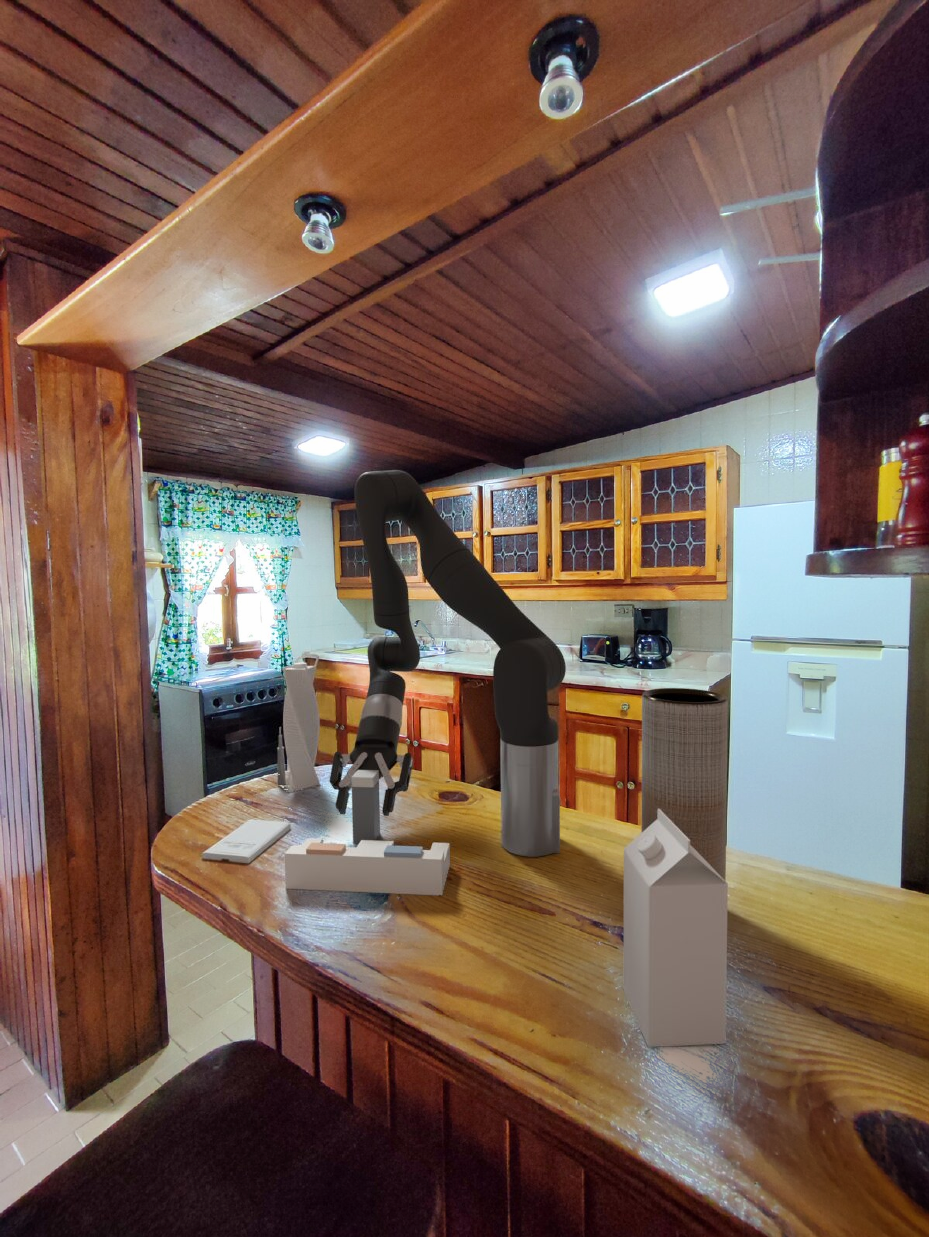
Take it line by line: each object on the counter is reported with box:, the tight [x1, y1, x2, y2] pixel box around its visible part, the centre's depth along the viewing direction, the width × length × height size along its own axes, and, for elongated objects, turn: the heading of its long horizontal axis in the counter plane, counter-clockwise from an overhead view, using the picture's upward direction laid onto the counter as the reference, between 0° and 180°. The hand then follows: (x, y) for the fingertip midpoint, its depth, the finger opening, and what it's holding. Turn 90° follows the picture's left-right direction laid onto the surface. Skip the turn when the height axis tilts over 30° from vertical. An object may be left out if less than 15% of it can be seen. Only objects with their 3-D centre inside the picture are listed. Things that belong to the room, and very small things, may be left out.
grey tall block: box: [351, 770, 381, 844], centre depth 92 cm, size 4×4×11 cm
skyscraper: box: [276, 654, 321, 793], centre depth 117 cm, size 8×8×28 cm
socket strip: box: [284, 837, 451, 897], centre depth 79 cm, size 22×8×6 cm, turn 84°
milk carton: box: [623, 809, 729, 1048], centre depth 52 cm, size 7×7×19 cm
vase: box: [641, 687, 729, 882], centre depth 69 cm, size 10×10×28 cm
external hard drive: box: [201, 819, 292, 864], centre depth 91 cm, size 2×8×12 cm
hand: (363, 813), depth 90 cm, fingers open, 7 cm apart
